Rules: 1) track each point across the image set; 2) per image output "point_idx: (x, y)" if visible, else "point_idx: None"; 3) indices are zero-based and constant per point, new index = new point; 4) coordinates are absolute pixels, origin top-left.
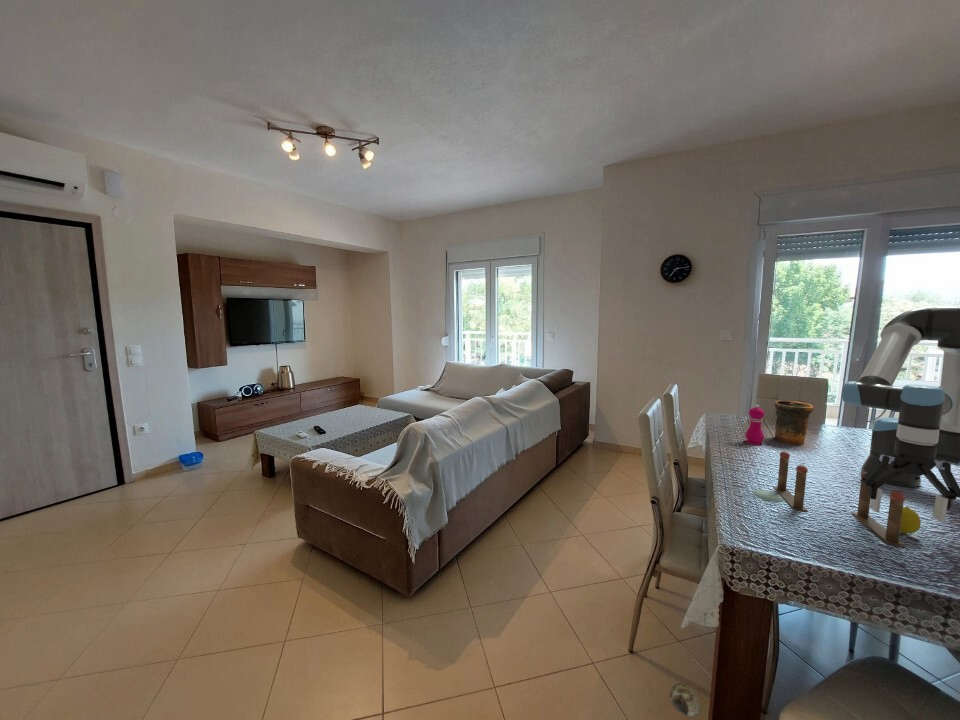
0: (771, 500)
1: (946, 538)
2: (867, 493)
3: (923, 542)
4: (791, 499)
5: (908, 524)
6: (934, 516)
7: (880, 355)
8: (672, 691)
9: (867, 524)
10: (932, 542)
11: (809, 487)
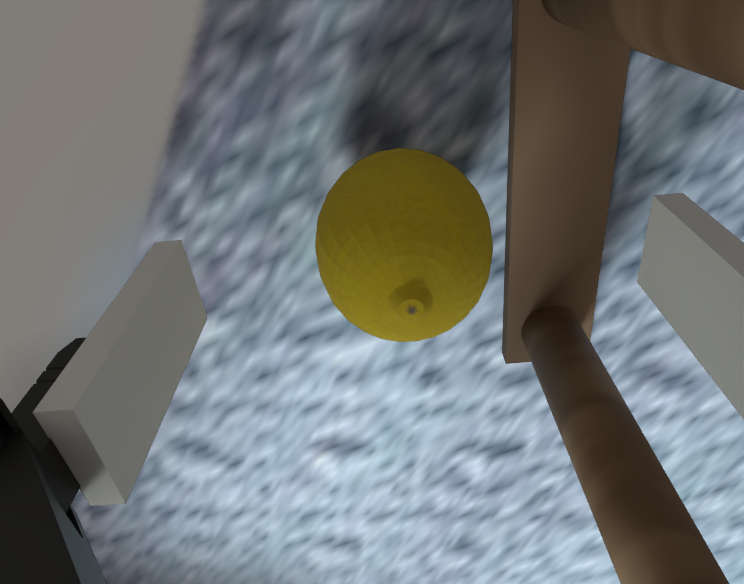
0: None
1: None
2: (630, 451)
3: (326, 105)
4: None
5: (424, 157)
6: (201, 310)
7: None
8: None
9: (603, 202)
10: (266, 136)
11: (605, 572)
